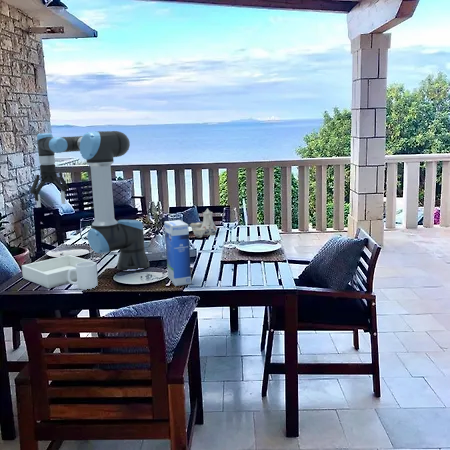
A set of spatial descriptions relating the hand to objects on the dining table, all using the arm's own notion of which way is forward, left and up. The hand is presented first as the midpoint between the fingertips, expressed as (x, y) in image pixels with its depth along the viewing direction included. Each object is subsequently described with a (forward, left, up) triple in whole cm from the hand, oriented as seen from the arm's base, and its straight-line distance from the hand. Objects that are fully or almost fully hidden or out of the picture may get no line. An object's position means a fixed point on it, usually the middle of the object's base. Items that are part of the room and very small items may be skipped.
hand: (51, 205), depth 256 cm
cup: (-57, +19, -28) cm, 66 cm away
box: (-34, +17, -28) cm, 47 cm away
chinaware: (-22, -87, -28) cm, 94 cm away
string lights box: (-83, -12, -28) cm, 89 cm away
